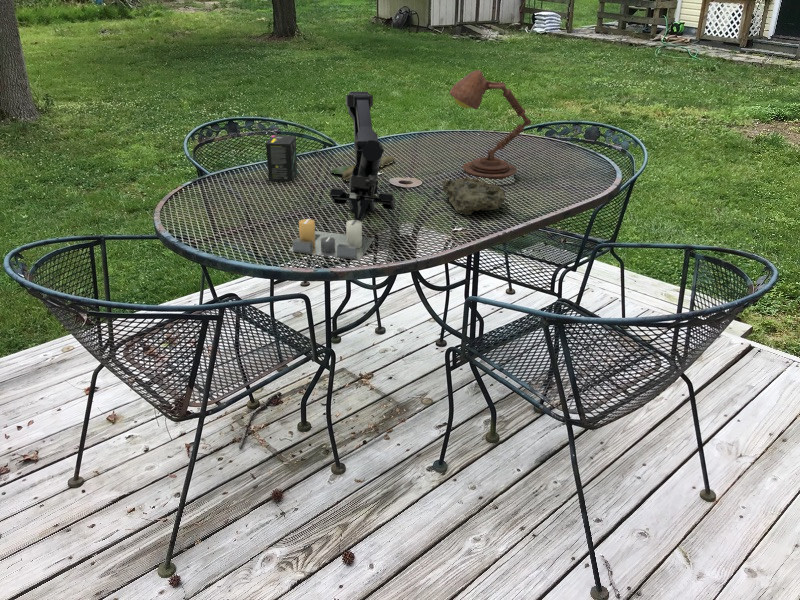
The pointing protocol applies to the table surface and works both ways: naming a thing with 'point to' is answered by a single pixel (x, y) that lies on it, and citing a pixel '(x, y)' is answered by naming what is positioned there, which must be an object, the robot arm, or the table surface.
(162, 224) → the table surface
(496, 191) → the stone
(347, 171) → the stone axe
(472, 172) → the desk lamp
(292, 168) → the tampon box
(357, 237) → the cream knob
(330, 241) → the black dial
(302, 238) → the orange knob
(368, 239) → the console plate
